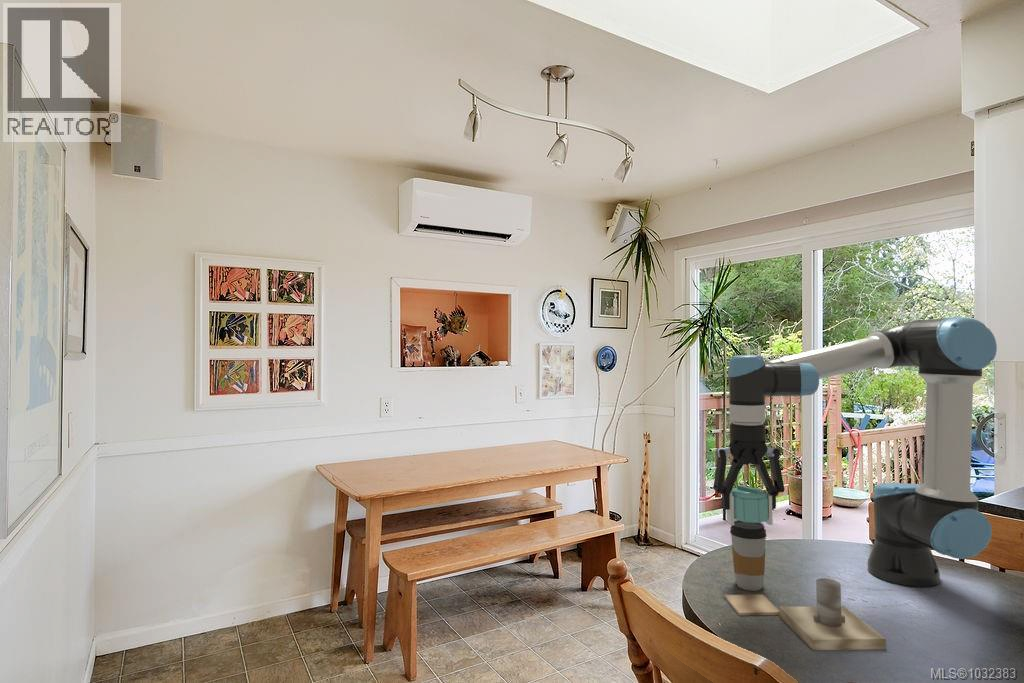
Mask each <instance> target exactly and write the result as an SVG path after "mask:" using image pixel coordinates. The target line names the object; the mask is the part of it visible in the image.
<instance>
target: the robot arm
mask: <svg viewBox="0 0 1024 683" xmlns="http://www.w3.org/2000/svg"><path fill="white" fill-rule="evenodd" d="M997 347H998V346H997V341H996V337H995V335H994V333H993V332H992V331H991V329H990V328H989V327H987V326H986V325H985V323H983V322H982V321H980V320H978V319H974V318H971V317H958V316H957V317H956V316H955V317H951V316H950V317H945V318H934V319H918V320H912V321H908V322H905V323H902V324H898V325H895V326H892V327H888V328H884V329H881V330H877V331H873V332H870V333H869V334H868V335H867V336H866V337H864V338H860V339H855V340H851V341H847V342H842V343H838V344H837V343H836V344H833V345H829V346H824V347H820V348H816V349H811V350H807V351H803V352H797V353H794V354H789V355H784V356H781V357H776V358H771V359H769V360H765V359H764V356H763V355H758V354H757V355H754V354H751V355H747V354H746V355H744V354H743V355H732V356H731V357H730V358H729V360H728V369H727V370H728V373H727V377H728V390H729V391H728V392H729V394H728V396H729V408H728V409H729V421H730V422H731V423H730V424H729V440H730V441H729V444H728V446H727V447H723V448H721V447H717V448H716V450H715V452H716V456H717V459H716V460H717V461H716V468H715V473H714V474H715V475H714V481H713V487H712V488H713V490H714V491H715V492H716V493H718V494H721V506H722V508H723V509H724V510H725V512H726V517H725V518H726V523H727V524H728V525H730V526H732V525H734V521H735V519H734V496H732V495H731V491H732V489H733V488H734V486H735V484H736V481H737V479H738V476H739V474H740V470H741V469H742V468H743V466H745V465H746V466H747V465H754V466H755V468H756V470H757V472H758V474H759V477H760V479H761V481H762V484H763V486H764V487H765V489H766V490H765V491H766V492H767V498H768V521H765V522H764V523H766V525H767V524H768V525H769V526H773V525H774V523H773V520H774V519H773V518H774V517H773V510H775V509H776V507H777V496H778V495H779V493H784V492H785V484H784V479H783V474H782V468H781V463H780V456H781V455H780V454H781V450H780V449H779V448H778V447H776V446H775V447H774V446H768V445H767V443H766V438H767V437H766V435H767V434H766V425H765V424H763V423H765V421H766V397H800V398H801V397H804V396H812V395H814V394H815V393H816V392H817V391H818V388H819V385H820V380H822V379H826V378H830V377H834V376H840V375H845V374H849V373H852V372H856V371H857V372H858V371H862V370H866V369H871V368H875V367H877V368H879V369H881V370H882V369H883V370H884V369H888V368H889V369H890V368H892V367H893V368H894V367H918V376H920V378H922V380H924V381H925V383H926V384H925V390H926V391H925V419H924V420H925V421H924V424H925V425H924V448H923V449H924V452H923V453H924V455H923V458H924V459H923V482H922V484H919V483H905V482H904V483H903V482H886V483H885V482H884V483H879V484H877V485H875V486H874V489H873V497H872V500H873V517H874V518H873V519H874V520H873V523H874V542H873V545H872V548H871V551H870V553H869V557H868V559H867V571H868V572H869V573H870V574H871V575H873V576H875V577H876V578H879V579H881V580H883V581H887V582H890V583H893V584H897V585H903V586H908V587H920V588H926V587H927V588H928V587H935V586H937V585H939V584H940V583H941V574H940V569H939V567H938V565H937V562H936V559H935V558H934V554H933V552H932V550H933V551H934V552H936V553H938V554H940V555H944V556H948V557H951V558H954V559H958V560H959V559H960V560H966V559H967V560H968V559H971V558H975V557H976V556H978V555H979V554H980V553H981V552H983V551H984V550H985V549H986V548H987V547H988V546H989V544H990V542H991V539H992V533H993V532H992V531H993V529H992V525H991V522H990V520H989V519H987V516H986V515H985V514H983V513H982V512H981V511H979V497H977V495H975V494H974V492H972V490H971V471H972V470H971V469H972V468H971V467H972V441H973V440H972V438H973V437H972V436H973V433H972V432H973V403H974V402H973V400H974V397H973V396H974V395H973V394H974V384H975V383H976V382H978V381H979V380H981V379H982V377H983V369H984V368H986V367H987V366H989V365H991V362H992V361H994V360H995V357H996V355H997V349H998V348H997ZM729 454H730V455H732V460H731V464H730V468H729V470H728V472H727V474H726V468H727V458H728V457H729ZM766 454H767V456H768V460H769V461H768V462H769V466H770V470H771V475H770V474H769V472H768V470H767V468H766V464H765V461H764V460H763V458H764V457H765V455H766ZM725 474H726V475H725ZM725 476H726V477H725ZM770 476H772V478H771V477H770Z"/></svg>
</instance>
